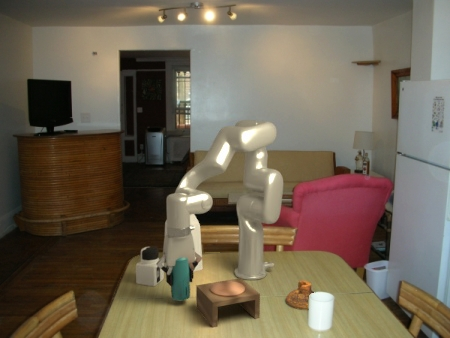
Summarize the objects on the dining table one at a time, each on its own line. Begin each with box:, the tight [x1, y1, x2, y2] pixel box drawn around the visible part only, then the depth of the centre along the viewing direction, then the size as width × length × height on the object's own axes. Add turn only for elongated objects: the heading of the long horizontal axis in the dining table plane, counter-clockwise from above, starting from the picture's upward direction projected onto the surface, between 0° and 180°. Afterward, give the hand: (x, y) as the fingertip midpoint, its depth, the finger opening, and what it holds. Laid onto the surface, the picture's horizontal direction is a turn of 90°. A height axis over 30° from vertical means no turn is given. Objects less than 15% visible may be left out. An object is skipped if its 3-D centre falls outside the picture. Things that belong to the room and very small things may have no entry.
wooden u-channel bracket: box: [195, 277, 261, 328], centre depth 153 cm, size 16×14×9 cm
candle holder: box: [285, 280, 315, 310], centre depth 162 cm, size 12×12×7 cm
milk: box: [164, 214, 204, 272], centre depth 191 cm, size 12×12×26 cm
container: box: [135, 246, 165, 287], centre depth 178 cm, size 8×8×13 cm
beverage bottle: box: [170, 257, 191, 302], centre depth 159 cm, size 6×7×20 cm
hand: (180, 282), depth 160 cm, fingers closed on beverage bottle, 6 cm apart
